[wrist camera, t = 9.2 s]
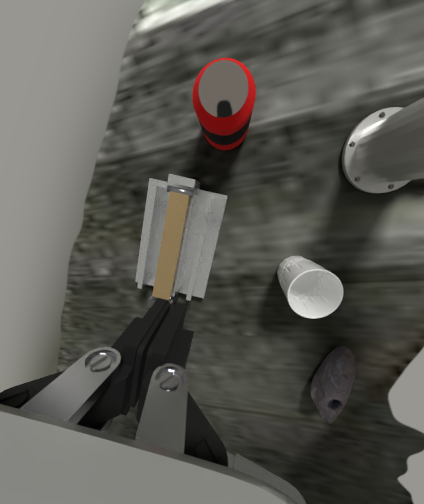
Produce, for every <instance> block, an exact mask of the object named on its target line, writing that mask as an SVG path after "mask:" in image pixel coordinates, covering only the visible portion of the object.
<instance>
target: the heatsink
mask: <svg viewBox="0 0 424 504" xmlns="http://www.w3.org/2000/svg"><path fill="white" fill-rule="evenodd" d="M200 184H201V183H200V182H198V181H197V180H194V179H190V178H186V177H181V176H177V175H172V174H169V177H168V182H165V181H160V180H156V179H152V178H149V186H148V193H147V200H146V208H145V215H144V222H143V229H142V237H141V244H140V251H139V259H138V266H137V273H136V281H135V282H138V287H137V288H140V289H142V288H143V287H144V286H145V285H146V284H147V285H151V286H154V283H155V277H156V271H157V265H158V259H159V253H160V247H161V241H162V235H163V229H164V223H165V217H166V211H167V205H168V199H169V193H170V192H167V186H168V185H170V186H174V187H179V188H183V189H187V190H192V191H194V196H193V198H192V197H190V199H189V204H188V210H187V215H186V220H185V225H184V230H183V236H182V241H181V246H180V251H179V257H178V262H177V267H176V272H175V277H174V283H173V288H172V293H171V298H170V300H168V303H171V307H172V306H173V304H174V303H175V302H176V300H177V298H178V295H179V293H184V294H187V297H186V300H189V301H190V300H191V298H192V296H196V297H200V298H204V295H205V291H206V286H207V282H208V278H209V274H210V269H211V265H212V261H213V257H214V252H215V248H216V244H217V239H218V235H219V231H220V227H221V222H222V218H223V214H224V210H225V205H226V201H227V197H228V196H226V195H221V194H217V193H213V192H208V191H204V190H200ZM157 299H158V298H157V297H153V296H152V295H151V296H150V297H149V298H148V304H147V307H149V308H151V307H152V305H153V304H154V303H155V301H156V300H157ZM171 307H170V309H171Z"/></svg>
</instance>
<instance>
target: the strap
mask: <svg viewBox="0 0 424 504" xmlns="http://www.w3.org/2000/svg"><path fill="white" fill-rule="evenodd" d="M167 192H170V193H169V199H168V205H167V211H166V217H165V223H164V229H163V235H162V241H161V247H160V253H159V259H158V265H157V271H156V277H155V283H154V289H153V294H152V296H153V297H157V298H162V299H166V300H170V298H171V293H172V288H173V283H174V277H175V272H176V267H177V262H178V257H179V251H180V246H181V241H182V236H183V230H184V225H185V220H186V215H187V210H188V204H189V199H190V197H192V198H193V196H194V191H192V190H187V189H183V188H179V187H174V186H170V185H168V186H167Z"/></svg>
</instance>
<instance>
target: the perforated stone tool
mask: <svg viewBox="0 0 424 504" xmlns="http://www.w3.org/2000/svg"><path fill="white" fill-rule="evenodd" d="M355 375H356V360H355V357H354V354H353V352H352V350H351V349H349V348H348V347H347V346H339V347H337V348H335V349H334V350H332V351H331V352H330V353H329V354H328V355H327V356H326V358H325V359H324V361H323V362H322V364H321V365H320V367H319V368H318V370H317V371H316V373H315V376H314V377H313V380H312V382H311V384H310V396H311V398H312V400H313V402H314V404H315V405H316V407H317V409H318V413H319V415H320V417H321V418H323V419H325V420H326V421H328V422H329V423H332V422H333V421H334V420H335V419H336V418H337V416H338V415H339V414H340V412H341V411H342V409H343V408H344V406H345V404H346V402H347V400H348V398H349V395H350V393H351V390H352V386H353V383H354V380H355Z"/></svg>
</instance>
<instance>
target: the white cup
mask: <svg viewBox="0 0 424 504" xmlns="http://www.w3.org/2000/svg"><path fill="white" fill-rule="evenodd" d="M277 275H278V280H279V282H280V285H281V287H282V290H283V292H284V294H285V296H286V298H287V301H288V303H289V305H290V307H291V308H292V310H293V311H294V312H296V313H297V314H298V315H300V316H302V317H305V318H311V319H316V318H322V317H325V316H327V315H329V314H331V313H332V312H334V311H335V310H336V309H337V308H338V306H339V305H340V303H341V301H342V299H343V286H342V283H341V281H340V280H339V278H338V277H337V276H336V275H334V274H333V273H331V272H330V271H328V270H326V269H325V268H323V267H321V266H320V265H318V264H316V263H314V262H312V261H311V260H308V259H306V258H304V257H302V256H291V257H289V258H286V259H284V260H283V262H282V263H281V264H280V265H279V267H278V271H277Z"/></svg>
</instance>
